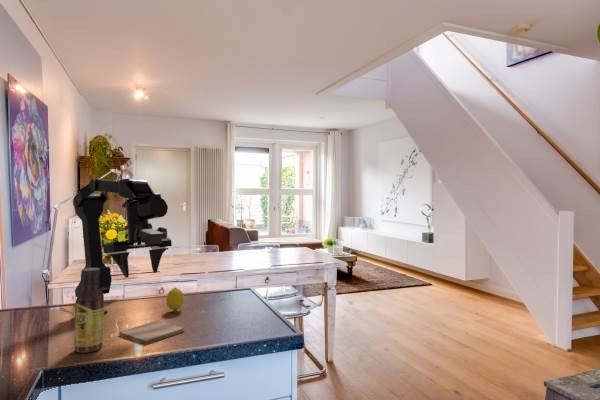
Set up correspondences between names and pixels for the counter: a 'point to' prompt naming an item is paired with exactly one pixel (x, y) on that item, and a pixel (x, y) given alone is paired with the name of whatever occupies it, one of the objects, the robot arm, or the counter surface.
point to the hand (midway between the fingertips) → (141, 274)
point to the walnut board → (151, 332)
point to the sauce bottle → (89, 313)
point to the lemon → (175, 299)
